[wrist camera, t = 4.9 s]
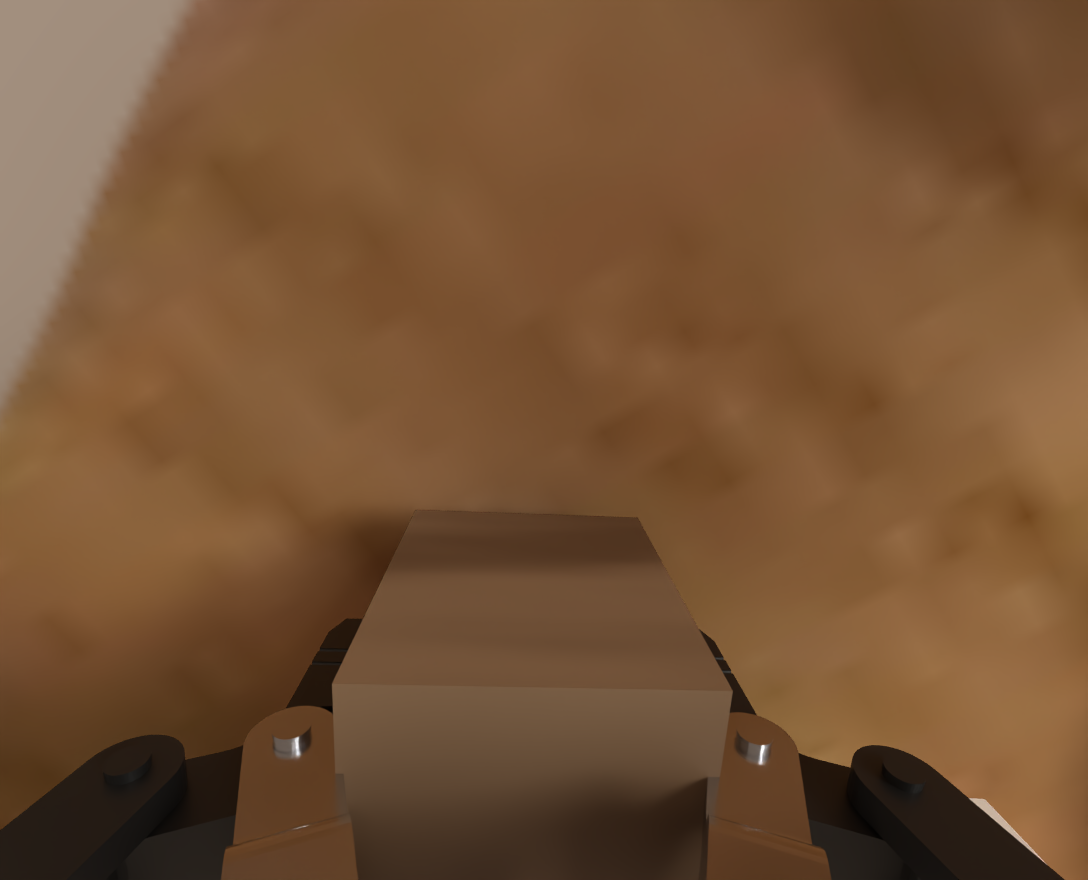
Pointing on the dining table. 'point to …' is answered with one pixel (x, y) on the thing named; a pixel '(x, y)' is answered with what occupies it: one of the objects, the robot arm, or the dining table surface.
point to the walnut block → (528, 706)
